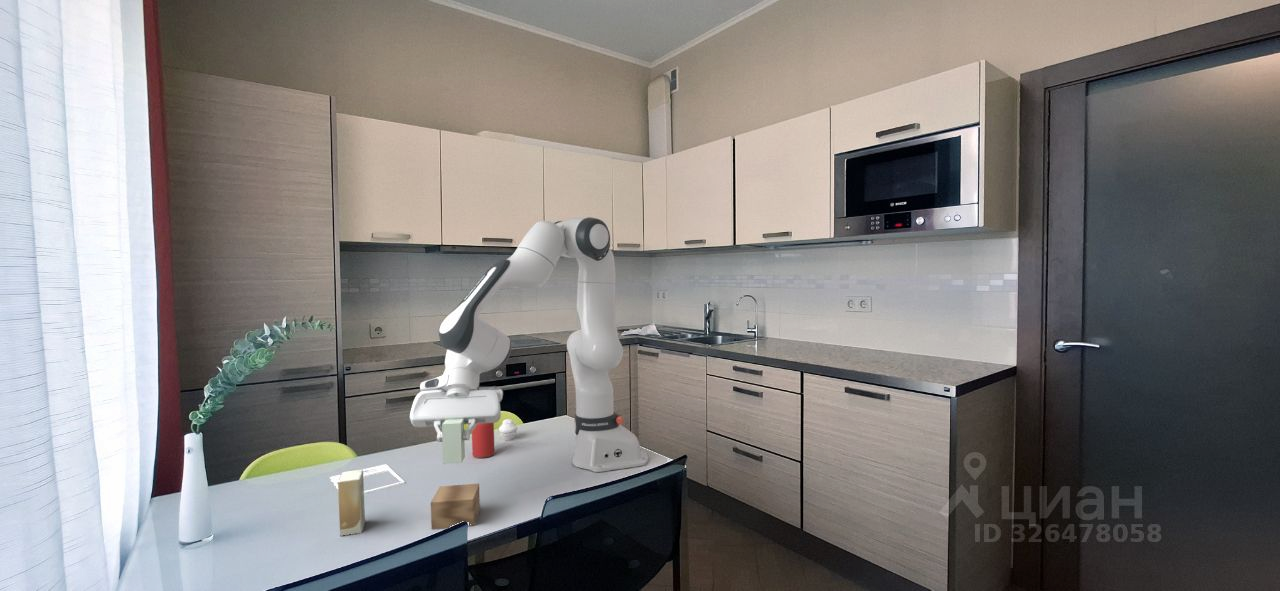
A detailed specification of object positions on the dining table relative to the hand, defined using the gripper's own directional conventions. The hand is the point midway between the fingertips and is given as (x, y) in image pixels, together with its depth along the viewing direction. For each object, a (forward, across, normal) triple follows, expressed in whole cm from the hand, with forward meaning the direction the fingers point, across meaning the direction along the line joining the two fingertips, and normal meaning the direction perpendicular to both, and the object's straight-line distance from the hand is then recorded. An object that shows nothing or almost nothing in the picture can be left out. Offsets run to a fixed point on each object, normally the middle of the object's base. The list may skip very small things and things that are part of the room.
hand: (453, 439), depth 121 cm
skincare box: (+13, +22, -13) cm, 29 cm away
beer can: (-18, 0, -44) cm, 47 cm away
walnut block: (+12, 0, -14) cm, 18 cm away
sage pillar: (+3, 0, -4) cm, 5 cm away
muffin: (-28, -6, -55) cm, 62 cm away
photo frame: (-7, +29, -34) cm, 45 cm away
